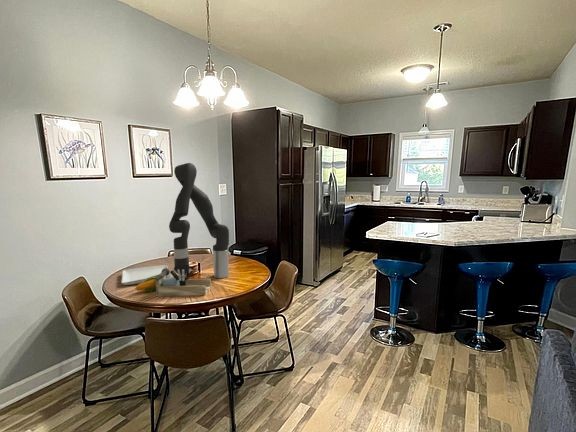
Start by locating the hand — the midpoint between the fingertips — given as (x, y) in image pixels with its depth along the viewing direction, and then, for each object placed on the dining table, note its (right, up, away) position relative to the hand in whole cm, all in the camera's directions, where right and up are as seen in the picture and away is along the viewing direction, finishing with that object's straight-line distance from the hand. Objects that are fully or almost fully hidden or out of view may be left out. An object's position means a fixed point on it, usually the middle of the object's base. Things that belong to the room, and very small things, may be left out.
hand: (183, 287), depth 168 cm
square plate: (-32, -1, +26) cm, 41 cm away
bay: (+1, -3, 0) cm, 3 cm away
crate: (-6, -1, 0) cm, 7 cm away
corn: (-18, -3, +4) cm, 19 cm away
